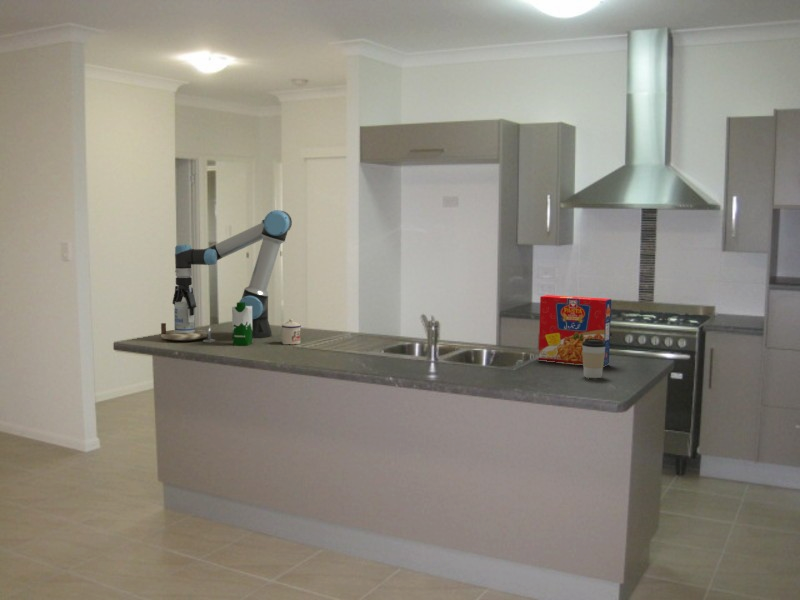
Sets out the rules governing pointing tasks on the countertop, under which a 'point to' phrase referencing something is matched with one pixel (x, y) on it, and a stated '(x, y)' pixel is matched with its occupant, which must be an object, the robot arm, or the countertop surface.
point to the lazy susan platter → (177, 336)
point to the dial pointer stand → (208, 335)
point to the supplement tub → (183, 319)
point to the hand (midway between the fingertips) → (184, 320)
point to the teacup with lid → (291, 332)
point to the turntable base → (184, 340)
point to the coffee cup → (593, 357)
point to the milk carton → (242, 324)
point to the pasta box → (572, 326)
